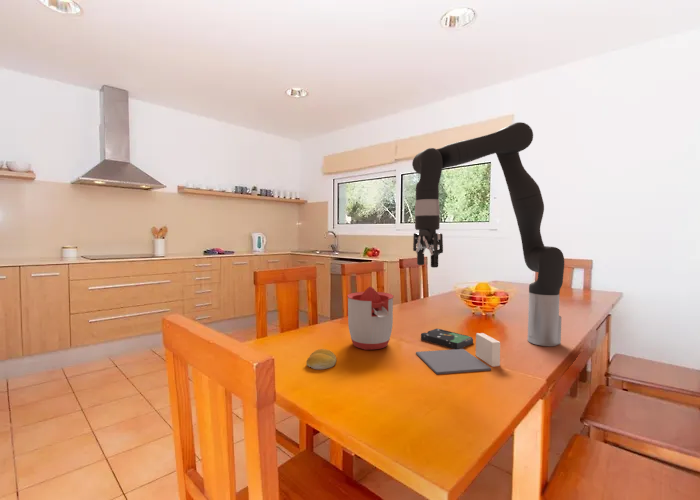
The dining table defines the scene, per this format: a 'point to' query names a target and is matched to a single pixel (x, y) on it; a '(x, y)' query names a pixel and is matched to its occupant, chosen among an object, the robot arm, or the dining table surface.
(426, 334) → the disk drive
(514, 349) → the dining table surface
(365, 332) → the citrus juicer
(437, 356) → the mat
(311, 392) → the dining table surface
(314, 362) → the bread roll
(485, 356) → the block
